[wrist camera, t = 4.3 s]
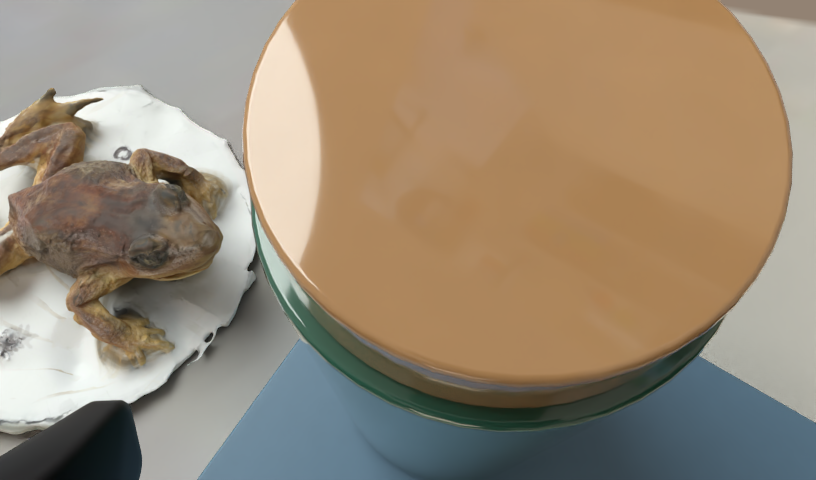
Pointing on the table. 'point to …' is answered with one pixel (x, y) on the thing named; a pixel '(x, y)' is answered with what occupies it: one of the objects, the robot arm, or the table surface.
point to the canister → (509, 208)
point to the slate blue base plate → (551, 470)
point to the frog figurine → (112, 250)
